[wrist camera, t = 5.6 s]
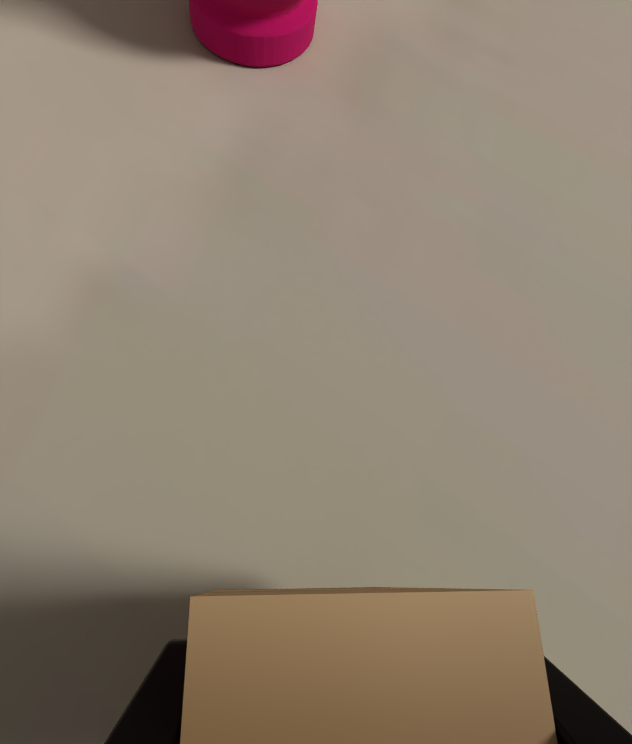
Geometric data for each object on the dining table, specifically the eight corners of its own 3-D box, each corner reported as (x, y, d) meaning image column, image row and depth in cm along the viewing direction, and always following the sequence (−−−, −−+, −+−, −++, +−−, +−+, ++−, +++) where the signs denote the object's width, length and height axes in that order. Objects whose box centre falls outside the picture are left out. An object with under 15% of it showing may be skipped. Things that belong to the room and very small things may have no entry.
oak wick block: (388, 780, 13) (608, 1069, 5) (205, 793, 13) (153, 1137, 5) (377, 587, 15) (532, 590, 7) (216, 589, 14) (190, 595, 6)
